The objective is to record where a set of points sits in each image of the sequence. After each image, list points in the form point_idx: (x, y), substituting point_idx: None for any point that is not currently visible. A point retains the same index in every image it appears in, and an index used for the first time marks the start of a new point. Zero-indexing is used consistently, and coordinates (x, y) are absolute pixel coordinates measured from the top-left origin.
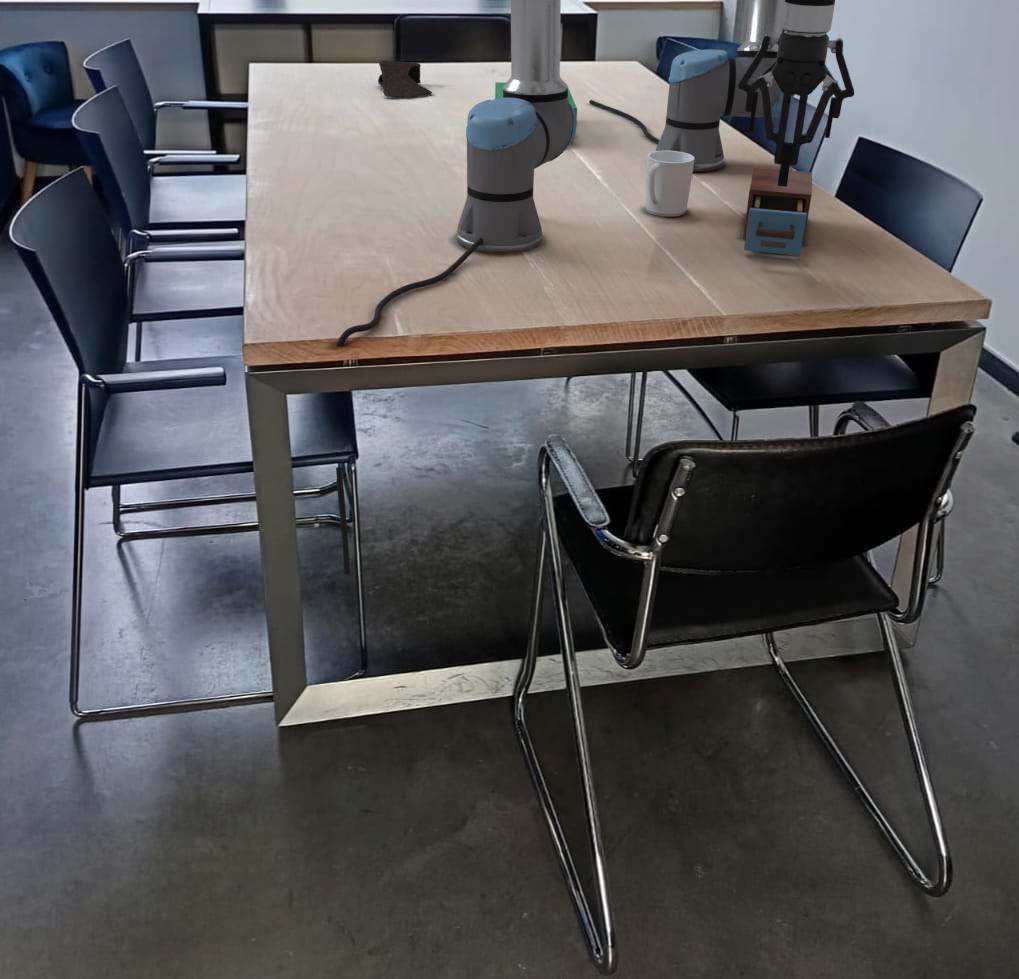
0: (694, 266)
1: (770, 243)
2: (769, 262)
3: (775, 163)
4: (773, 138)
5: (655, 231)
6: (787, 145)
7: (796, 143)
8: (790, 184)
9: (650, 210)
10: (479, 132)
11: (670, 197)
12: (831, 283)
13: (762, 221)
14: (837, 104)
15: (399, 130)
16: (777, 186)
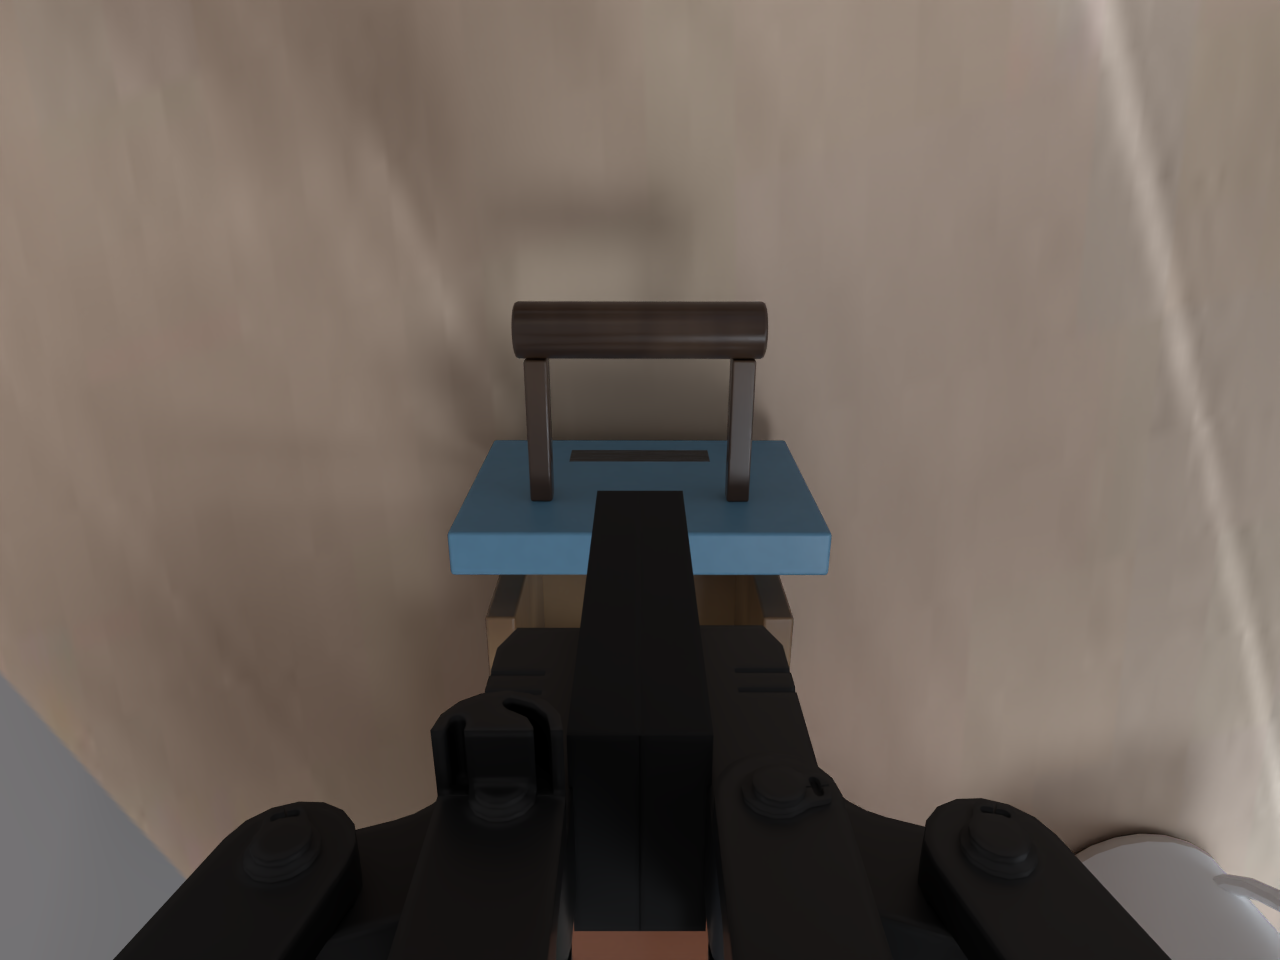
0: (1052, 180)
1: (654, 456)
2: (645, 367)
3: (756, 626)
4: (907, 853)
5: (1204, 649)
6: (650, 779)
7: (504, 746)
8: None
9: (1214, 860)
10: None
11: (1176, 908)
12: (296, 125)
13: (727, 503)
14: None
15: None
16: (660, 933)
